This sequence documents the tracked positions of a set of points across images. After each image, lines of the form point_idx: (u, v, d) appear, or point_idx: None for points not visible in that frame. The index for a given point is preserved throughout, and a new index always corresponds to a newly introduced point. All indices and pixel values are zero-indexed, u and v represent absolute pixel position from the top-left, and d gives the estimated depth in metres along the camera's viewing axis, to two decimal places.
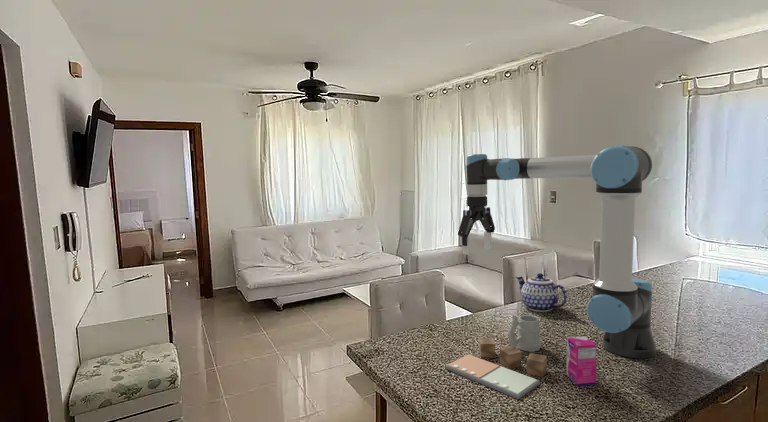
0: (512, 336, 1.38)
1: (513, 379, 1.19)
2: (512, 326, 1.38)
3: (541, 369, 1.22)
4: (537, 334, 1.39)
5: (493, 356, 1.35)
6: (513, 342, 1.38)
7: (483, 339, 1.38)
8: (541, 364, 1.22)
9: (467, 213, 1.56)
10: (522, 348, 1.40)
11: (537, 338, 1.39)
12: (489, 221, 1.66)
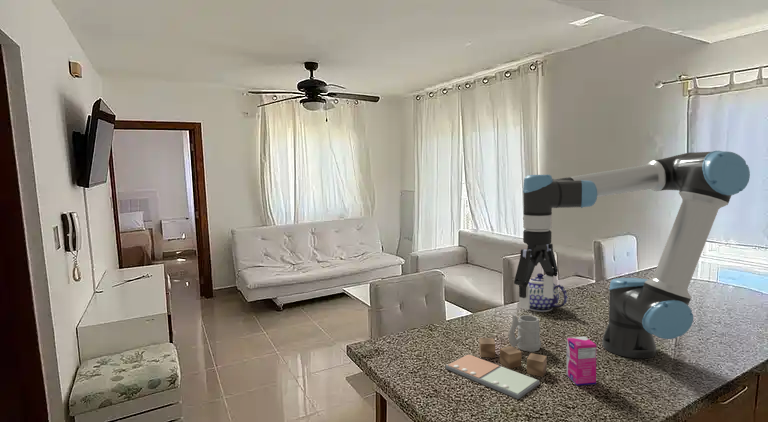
0: (512, 336, 1.38)
1: (513, 379, 1.19)
2: (512, 326, 1.38)
3: (541, 369, 1.22)
4: (537, 334, 1.39)
5: (493, 356, 1.35)
6: (513, 342, 1.38)
7: (483, 339, 1.38)
8: (541, 364, 1.22)
9: (527, 254, 1.16)
10: (522, 348, 1.40)
11: (537, 338, 1.39)
12: (551, 261, 1.27)
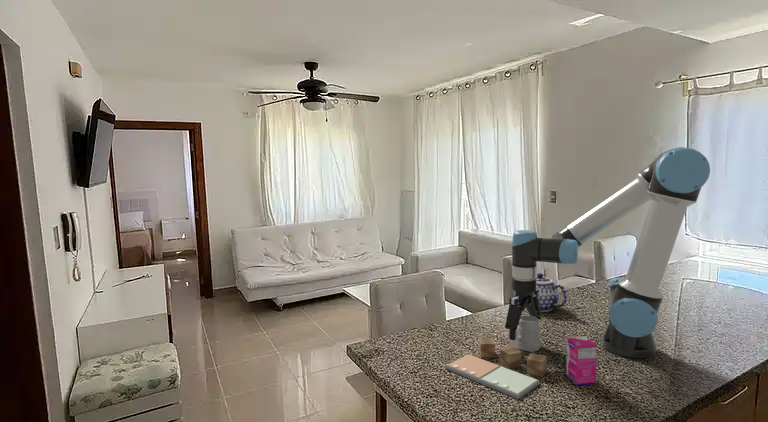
0: None
1: (513, 379, 1.19)
2: None
3: (541, 369, 1.22)
4: (537, 334, 1.39)
5: (493, 356, 1.35)
6: None
7: (483, 339, 1.38)
8: (541, 364, 1.22)
9: (514, 303, 1.34)
10: (522, 348, 1.40)
11: (537, 338, 1.39)
12: (535, 306, 1.44)
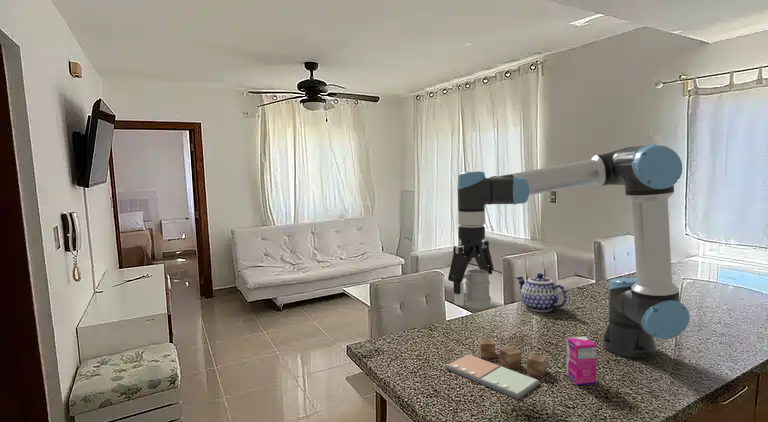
0: None
1: (513, 379, 1.19)
2: None
3: (541, 369, 1.22)
4: (486, 288, 1.23)
5: (493, 356, 1.35)
6: None
7: (483, 339, 1.38)
8: (541, 364, 1.22)
9: (459, 251, 1.18)
10: (469, 304, 1.24)
11: (486, 293, 1.23)
12: (486, 259, 1.28)
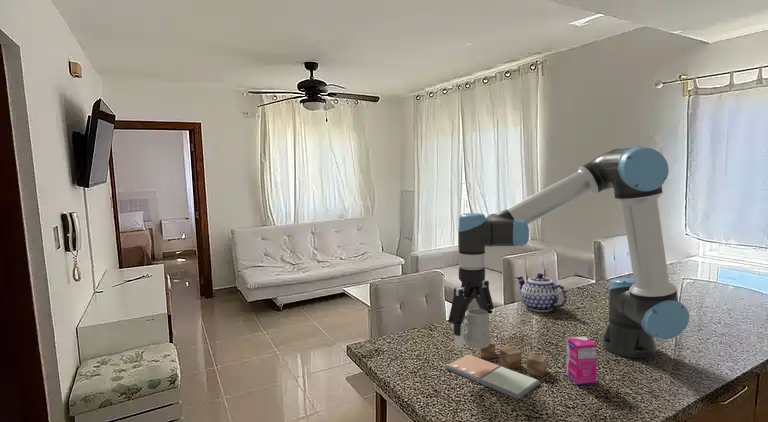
0: None
1: (513, 379, 1.19)
2: None
3: (541, 369, 1.22)
4: (485, 329, 1.24)
5: (493, 356, 1.35)
6: None
7: None
8: (541, 364, 1.22)
9: (459, 294, 1.20)
10: (469, 345, 1.25)
11: (485, 334, 1.24)
12: (486, 298, 1.29)
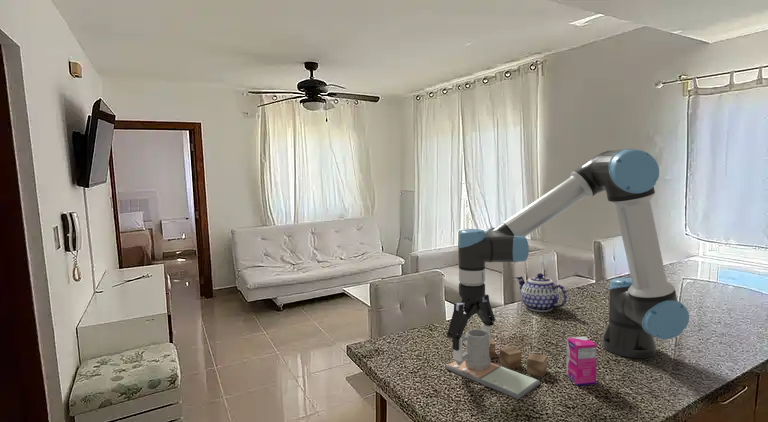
0: None
1: (513, 379, 1.19)
2: None
3: (541, 369, 1.22)
4: (485, 351, 1.24)
5: (493, 356, 1.35)
6: None
7: None
8: (541, 364, 1.22)
9: (459, 308, 1.20)
10: (469, 366, 1.25)
11: (485, 355, 1.24)
12: (487, 311, 1.30)
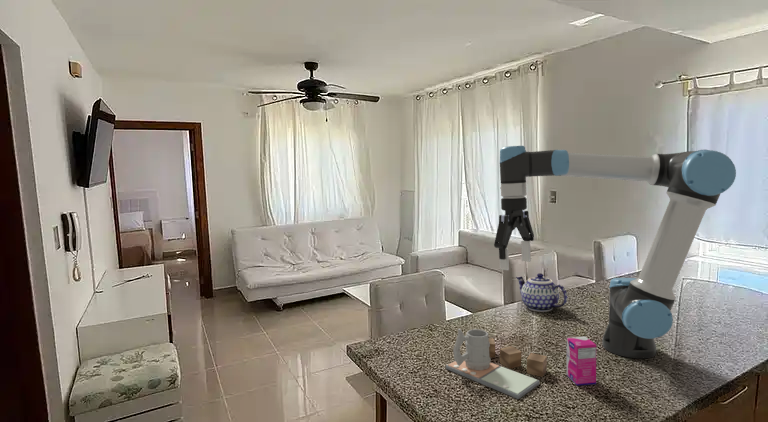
0: (457, 353, 1.24)
1: (513, 379, 1.19)
2: (457, 342, 1.24)
3: (541, 369, 1.22)
4: (485, 351, 1.24)
5: (493, 356, 1.35)
6: (458, 359, 1.24)
7: None
8: (541, 364, 1.22)
9: (504, 219, 1.26)
10: (469, 366, 1.25)
11: (485, 355, 1.24)
12: (527, 227, 1.37)
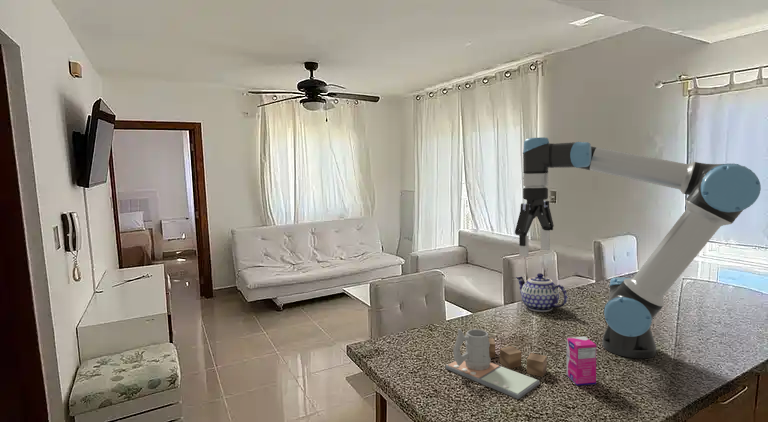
0: (457, 353, 1.24)
1: (513, 379, 1.19)
2: (457, 342, 1.24)
3: (541, 369, 1.22)
4: (485, 351, 1.24)
5: (493, 356, 1.35)
6: (458, 359, 1.24)
7: None
8: (541, 364, 1.22)
9: (526, 207, 1.32)
10: (469, 366, 1.25)
11: (485, 355, 1.24)
12: (547, 217, 1.42)
